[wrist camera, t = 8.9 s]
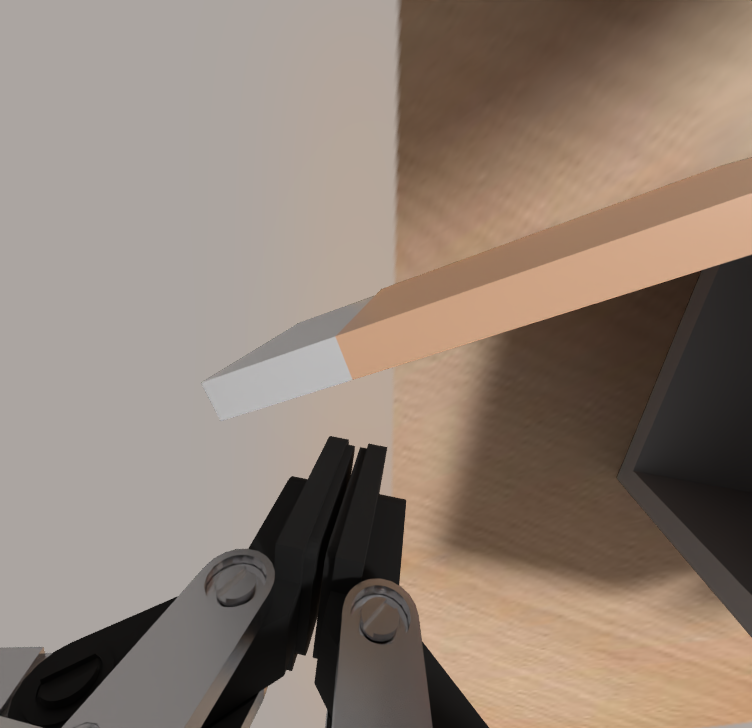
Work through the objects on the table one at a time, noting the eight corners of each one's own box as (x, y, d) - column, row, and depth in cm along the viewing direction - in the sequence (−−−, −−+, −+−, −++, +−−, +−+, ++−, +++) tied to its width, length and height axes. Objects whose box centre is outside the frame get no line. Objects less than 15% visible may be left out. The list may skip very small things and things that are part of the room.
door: (737, 159, 16) (1331, -7, 6) (740, 187, 17) (1310, 78, 6) (314, 313, 21) (200, 382, 10) (322, 333, 21) (220, 421, 10)
